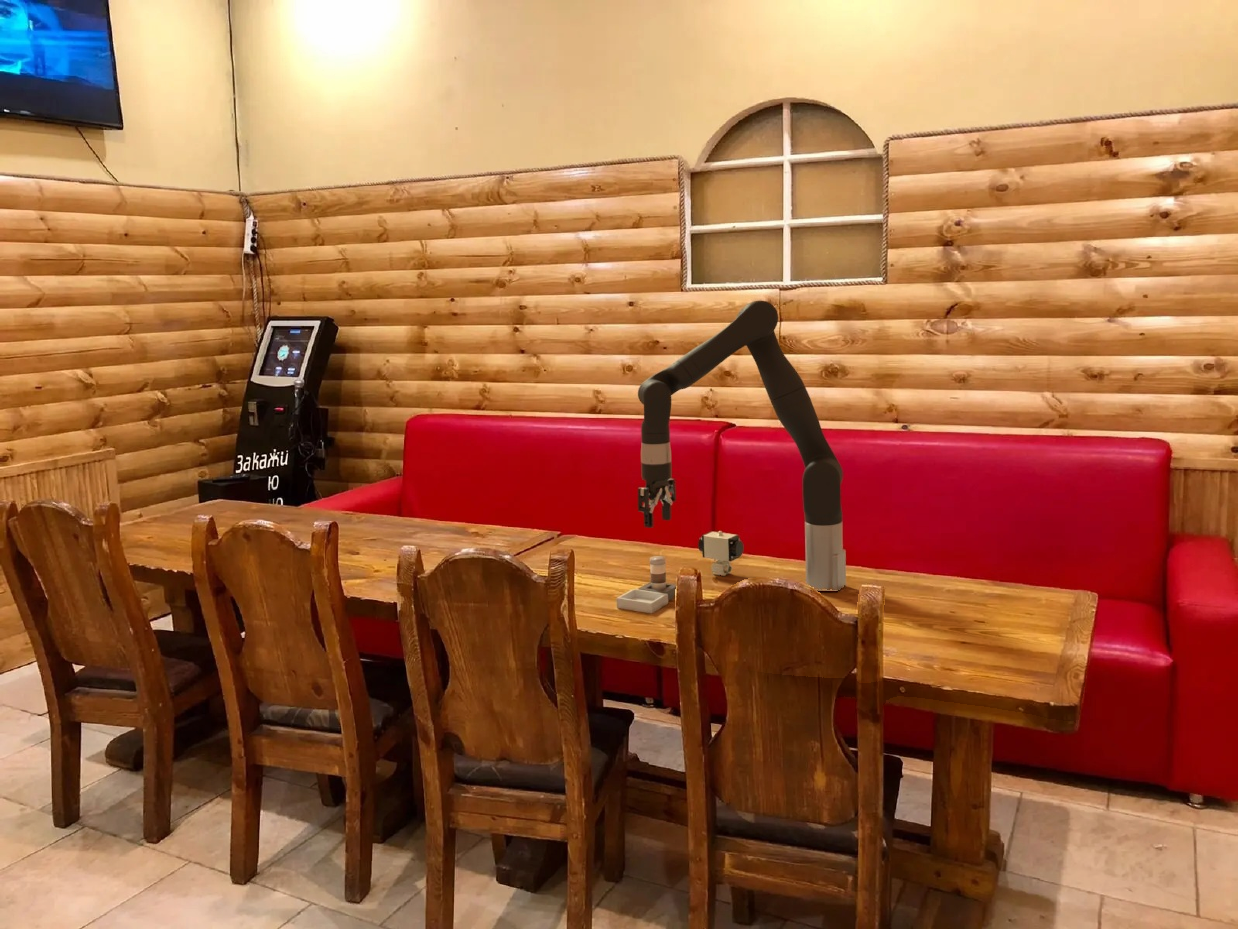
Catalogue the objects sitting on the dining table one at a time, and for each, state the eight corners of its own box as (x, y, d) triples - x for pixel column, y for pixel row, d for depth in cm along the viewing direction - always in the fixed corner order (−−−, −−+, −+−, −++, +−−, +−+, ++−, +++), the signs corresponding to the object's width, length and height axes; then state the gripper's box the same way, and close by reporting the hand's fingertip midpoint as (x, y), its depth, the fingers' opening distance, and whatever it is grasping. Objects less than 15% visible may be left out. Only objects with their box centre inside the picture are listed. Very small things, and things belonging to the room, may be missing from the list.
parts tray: (668, 603, 235) (667, 593, 234) (651, 613, 228) (651, 603, 228) (634, 598, 240) (633, 588, 240) (616, 607, 233) (616, 598, 233)
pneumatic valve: (736, 579, 251) (734, 535, 249) (698, 573, 258) (697, 530, 256) (746, 574, 255) (745, 530, 253) (709, 568, 262) (707, 526, 260)
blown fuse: (669, 595, 241) (668, 557, 239) (661, 599, 238) (660, 561, 236) (656, 592, 243) (654, 555, 241) (648, 597, 240) (646, 559, 238)
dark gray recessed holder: (679, 594, 241) (679, 584, 241) (665, 602, 235) (665, 592, 235) (652, 590, 246) (652, 580, 245) (638, 598, 240) (638, 588, 239)
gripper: (653, 466, 227) (655, 531, 230) (683, 456, 239) (685, 519, 242) (627, 464, 231) (629, 528, 234) (658, 454, 243) (660, 515, 246)
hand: (657, 523), depth 238 cm, fingers open, 8 cm apart
